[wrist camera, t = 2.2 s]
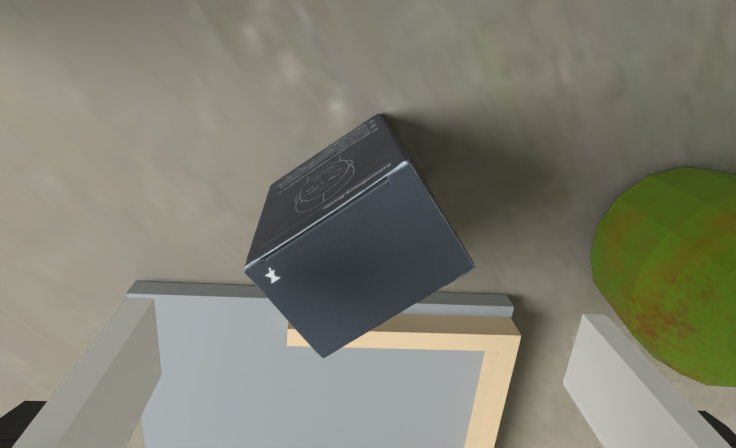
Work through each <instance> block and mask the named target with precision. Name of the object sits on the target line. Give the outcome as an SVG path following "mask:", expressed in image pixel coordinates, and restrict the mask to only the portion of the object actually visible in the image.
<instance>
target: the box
mask: <svg viewBox="0 0 736 448" xmlns="http://www.w3.org/2000/svg"><path fill="white" fill-rule="evenodd" d="M473 269H475V265H474V263H473V261H472V259H471V257H470V256H469V254H468V252H467V250H466V249H465V247H464V245H463V243H462V242H461V240H460V238H459V237H458V235H457V233H456V232H455V230H454V228H453V227H452V225H451V223H450V222H449V220H448V218H447V217H446V215H445V213H444V212H443V210H442V209H441V207H440V205H439V204H438V202H437V200H436V199H435V197H434V196H433V194H432V193H431V191H430V189H429V188H428V186H427V184H426V183H425V181H424V180H423V178H422V176H421V175H420V173H419V172H418V170H417V168H416V167H415V165H414V164H413V162H412V160H411V159H410V157H409V156H408V154H407V152H406V151H405V149H404V148H403V146H402V144H401V143H400V141H399V140H398V138H397V137H396V135H395V133H394V132H393V130H392V129H391V127H390V125H389V124H388V122H387V121H386V119H385V117H384V116H383V115H381V114H377V115H375V116H373V117H372V118H370V119H369V120H367V121H366V122H364V123H363V124H361V125H360V126H358V127H357V128H355V129H354V130H352V131H351V132H349V133H348V134H346V135H345V136H343V137H342V138H340V139H339V140H337V141H336V142H334V143H333V144H331V145H330V146H328V147H327V148H325V149H324V150H322V151H321V152H319V153H318V154H316V155H315V156H313V157H312V158H310V159H309V160H307V161H306V162H304V163H303V164H301V165H300V166H298V167H297V168H295V169H294V170H292V171H291V172H290V173H288V174H287V175H285V176H283V177H282V178H281V179H279V180H278V181H276V182H275V183H273V184H272V185H271V186H270V189H269V192H268V195H267V198H266V201H265V204H264V207H263V211H262V214H261V217H260V220H259V223H258V226H257V229H256V232H255V235H254V238H253V241H252V244H251V248H250V251H249V254H248V257H247V261H246V264H245V266H244V272H245V274H246V275H247V276H248V277H249V278H250V279H251V280H252V281H253V282H254V284H255V285H256V286H257V287H258V288H259V289H260V290H261V291H262V292H263V293H264V295H265V296H266V297H267V298H268V299H269V300H270V301H271V302H272V304H273V305H274V306H275V307H276V308H277V309H278V310H279V311H280V313H281V314H282V315H283V316H284V317H285V318H286V319H287V321H288V322H289V323H290V324H291V325H292V326H293V327H294V328H295V330H296V331H297V332H298V333H299V334H300V335H301V336H302V337H303V339H304V340H305V341H306V342H307V343H308V344H309V345H310V346H311V347H312V348H313V349H314V350H315V351H316V353H317V354H319V355H320V357H321V358H325V357H327V356H329V355H330V354H332V353H334V352H335V351H337V350H339V349H340V348H342V347H344V346H345V345H347V344H349V343H350V342H352V341H354V340H355V339H357V338H359V337H360V336H362V335H364V334H365V333H367V332H369V331H370V330H372V329H374V328H376V327H377V326H379V325H381V324H382V323H384V322H385V321H387V320H389V319H390V318H392V317H394V316H396V315H397V314H399V313H401V312H402V311H404V310H406V309H407V308H409V307H411V306H412V305H414V304H416V303H417V302H419V301H421V300H423V299H424V298H426V297H427V296H429V295H431V294H433V293H434V292H436V291H438V290H439V289H441V288H443V287H444V286H446V285H448V284H449V283H451V282H453V281H454V280H456V279H458V278H460V277H461V276H463V275H465V274H466V273H468V272H470V271H472V270H473Z"/></svg>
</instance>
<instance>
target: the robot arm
mask: <svg viewBox="0 0 736 448" xmlns="http://www.w3.org/2000/svg"><path fill="white" fill-rule="evenodd" d="M161 375H162V373H161V363H160V352H159V342H158V332H157V322H156V311H155V301H154V299H153V298H126V299H125V301H124V302H123V303H122V305H121V306H120V307H119V309H118V310H117V311H116V312H115V314H114V315H113V316H112V318H111V319H110V320H109V322H108V323H107V324H106V326H105V327H104V328H103V329H102V331H101V332H100V333H99V335H98V336H97V337H96V339H95V340H94V341H93V342H92V344H91V345H90V346H89V348H88V349H87V350H86V352H85V353H84V354H83V355H82V357H81V358H80V359H79V361H78V362H77V363H76V365H75V366H74V367H73V369H72V370H71V371H70V372H69V374H68V375H67V376H66V378H65V379H64V380H63V382H62V383H61V384H60V385H59V387H58V388H57V389H56V391H55V392H54V393H53V395H52V396H51V397H50V398H49V400H48V401H24V402H23V403H21V404H20V405H18V406H17V407H15V408H14V409H13V410H11V411H10V412H8V413H7V414H5V415H4V416H3V417H1V418H0V448H126V446H127V444H128V442H129V440H130V438H131V436H132V434H133V432H134V430H135V427H136V425H137V423H138V421H139V419H140V417H141V415H142V413H143V411H144V409H145V407H146V405H147V403H148V401H149V399H150V397H151V395H152V393H153V391H154V389H155V387H156V385H157V383H158V381H159V379H160V377H161ZM563 385H564V386H565V388H566V390H567V391H568V393H569V394H570V396H571V397H572V399H573V400H574V402H575V404H576V405H577V407H578V408H579V410H580V411H581V413H582V414H583V416H584V418H585V419H586V421H587V422H588V424H589V425H590V427H591V428H592V430H593V432H594V433H595V435H596V436H597V438H598V439H599V441H600V442H601V444H602V446H603V447H604V448H736V435H735V434H734V433H733V432H732V431H731V430H730V429H729V428H728V427H727V426H726V425H725V424H723V423H722V422H720V421H719V420H717V419H716V418H715V417H713V416H712V415H710V414H709V413H707V412H706V411H697V410H696V409H695V408H694V407H693V406H692V405H691V404H690V403H689V402H688V401H687V400H686V399H685V398H684V397H683V396H682V395H681V393H680V392H679V391H678V390H677V389H676V388H675V387H674V386H673V385H672V384H671V383H670V382H669V381H668V380H667V379H666V378H665V377H664V376H663V374H662V373H661V372H660V371H659V370H658V369H657V368H656V367H655V366H654V365H653V364H652V363H651V362H650V361H649V360H648V359H647V358H646V357H645V355H644V354H643V353H642V352H641V351H640V350H639V349H638V348H637V347H636V346H635V345H634V344H633V343H632V342H631V341H630V340H629V339H628V338H627V337H626V335H625V334H624V333H623V332H622V331H621V330H620V329H619V328H618V327H617V326H616V325H615V324H614V323H613V322H612V321H611V320H610V319H609V318H608V316H607V315H598V314H583V316H582V319H581V322H580V326H579V329H578V333H577V336H576V340H575V343H574V346H573V350H572V353H571V357H570V360H569V363H568V367H567V370H566V374H565V377H564V381H563Z"/></svg>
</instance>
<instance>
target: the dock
mask: <svg viewBox="0 0 736 448" xmlns="http://www.w3.org/2000/svg"><path fill="white" fill-rule="evenodd" d="M126 297H127V298H153V299H154V301H155V311H156V322H157V332H158V342H159V352H160V363H161V373H162V375H161V377H160V379H159V381H158V383H157V385H156V387H155V389H154V391H153V393H152V395H151V397H150V399H149V401H148V403H147V405H146V407H145V409H144V411H143V413H142V415H141V417H142V425H143V433H144V441H145V448H494V445H495V441H496V437H497V433H498V429H499V425H500V421H501V417H502V413H503V409H504V405H505V401H506V397H507V392H508V388H509V384H510V380H511V376H512V372H513V368H514V364H515V360H516V356H517V352H518V348H519V344H520V340H521V334H520V332H519V331H518V329H517V328H516V326H515V324H514V323H513V321H512V319H511V318H512V314H513V310H514V306H513V304H512V303H511V301H510V300H509V298H508V296H507V295H501V294H474V293H447V292H434V293H433V294H431V295H429V296H427V297H426V298H424V299H423V300H421V301H419V302H417V303H416V304H414V305H412V306H411V307H409V308H407V309H406V310H404V311H402V312H401V313H399V314H397V315H396V316H394V317H392V318H390V319H389V320H387V321H385V322H384V323H382V324H381V325H379V326H377V327H376V328H374V329H372V330H370V331H369V332H367V333H365V334H364V335H362V336H360V337H359V338H357V339H355V340H354V341H352V342H350V343H349V344H347V345H345V346H344V347H342V348H340V349H339V350H337V351H335V352H334V353H332V354H330V355H329V356H327V357H325V358H321V357H320V355H319V354H317V353H316V351H315V350H314V349H313V348H312V347H311V346H310V345H309V344H308V343H307V342H306V341H305V340H304V339H303V337H302V336H301V335H300V334H299V333H298V332H297V331H296V330H295V328H294V327H293V326H292V325H291V324H290V323H289V322H288V321H287V319H286V318H285V317H284V316H283V315H282V314H281V313H280V311H279V310H278V309H277V308H276V307H275V306H274V305H273V304H272V302H271V301H270V300H269V299H268V298H267V297H266V296H265V295H264V293H263V292H262V291H261V290H260V289H259V288H258V287H257V286H256V285H230V284H202V283H175V282H148V281H135V282H134V284H133V285H132V286H131V288H130V289H129V290H128V292H127V293H126Z"/></svg>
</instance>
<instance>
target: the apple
mask: <svg viewBox="0 0 736 448" xmlns="http://www.w3.org/2000/svg"><path fill="white" fill-rule="evenodd" d="M591 263H592V272H593V281H594V283H595V284H596V286H597V287H598V289H599V290H600V291H601V293H602V294H603V295H604V297H605V298H606V300H607V301H608V302H609V304H610V305H611V306H612V308H613V309H614V310H615V312H616V313H617V315H618V316H619V317H620V319H621V320H622V321H623V323H624V324H625V325H626V327H627V328H628V330H629V331H630V332H631V334H632V335H633V336H634V337H635V338H636V339H637V340H638V341H639V342H640V344H641V345H642V346H643V347H644V348H645V349H646V350H647V351H648V352H649V353H650V354H651V355H652V356H653V357H654V358H655V359H657V360H659V361H660V362H662V363H663V364H665V365H667V366H668V367H670V368H671V369H673V370H675V371H676V372H678V373H679V374H682V375H684V376H686V377H689V378H691V379H693V380H696V381H698V382H700V383H703V384H705V385H709V386H727V387H736V175H733V174H729V173H724V172H720V171H716V170H710V169H699V168H688V167H680V168H676V169H672V170H668V171H664V172H660V173H656V174H652V175H648V176H647V177H646V178H644V179H643V180H641V181H640V182H639V183H637V184H636V185H634V186H633V187H632V188H630V189H629V190H627V191H626V192H624V193H623V194H622V195H620V196H619V197H618V198H617V199H616V201H615V202H614V203H613V205H612V206H611V207H610V209H609V210H608V211H607V213H606V214H605V215H604V217H603V218H602V219H601V221H600V222H599V224H598V225H597V229H596V233H595V238H594V242H593V247H592V251H591Z"/></svg>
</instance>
